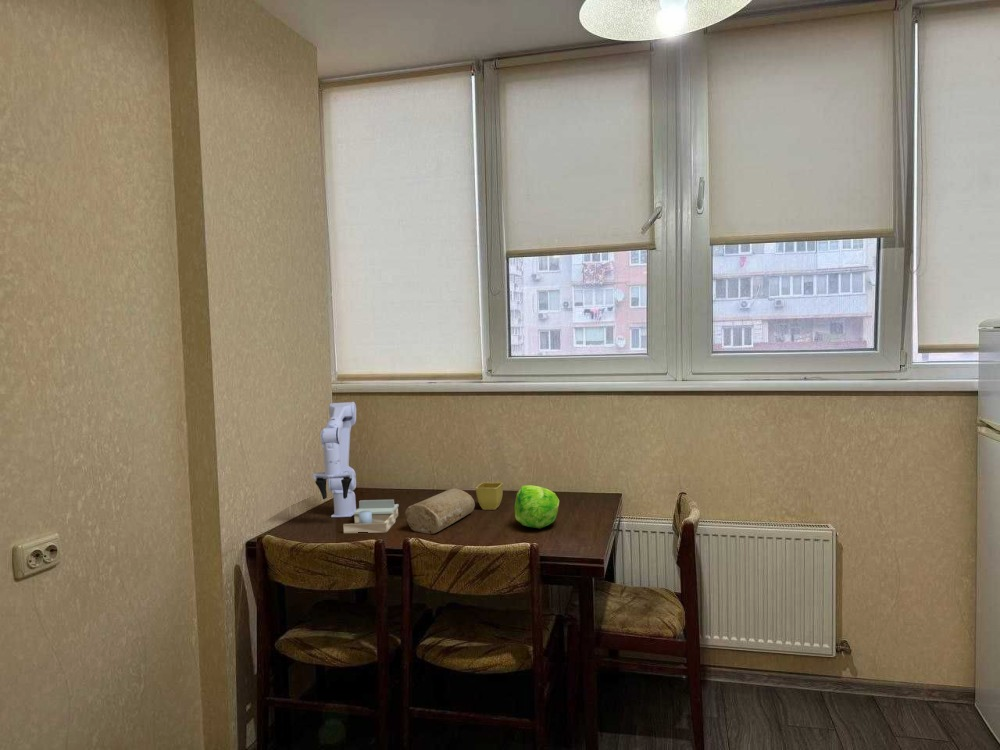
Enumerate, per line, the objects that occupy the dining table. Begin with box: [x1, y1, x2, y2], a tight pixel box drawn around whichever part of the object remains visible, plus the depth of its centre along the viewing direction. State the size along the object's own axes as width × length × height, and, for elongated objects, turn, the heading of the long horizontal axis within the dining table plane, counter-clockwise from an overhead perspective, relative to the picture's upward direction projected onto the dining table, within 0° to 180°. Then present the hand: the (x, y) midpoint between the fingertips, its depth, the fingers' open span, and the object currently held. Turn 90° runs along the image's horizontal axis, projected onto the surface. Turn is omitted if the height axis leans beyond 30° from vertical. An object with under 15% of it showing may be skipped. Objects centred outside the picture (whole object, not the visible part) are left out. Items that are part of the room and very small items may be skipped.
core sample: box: [405, 488, 476, 535], centre depth 234 cm, size 14×26×10 cm, turn 155°
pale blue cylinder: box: [358, 511, 372, 524], centre depth 234 cm, size 4×4×6 cm
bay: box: [342, 507, 399, 534], centre depth 237 cm, size 20×15×3 cm
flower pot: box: [474, 482, 504, 511], centre depth 251 cm, size 9×9×9 cm
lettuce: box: [514, 484, 560, 530], centre depth 225 cm, size 15×20×14 cm
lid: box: [354, 499, 399, 515], centre depth 244 cm, size 10×14×4 cm
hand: (335, 498), depth 238 cm, fingers open, 7 cm apart
